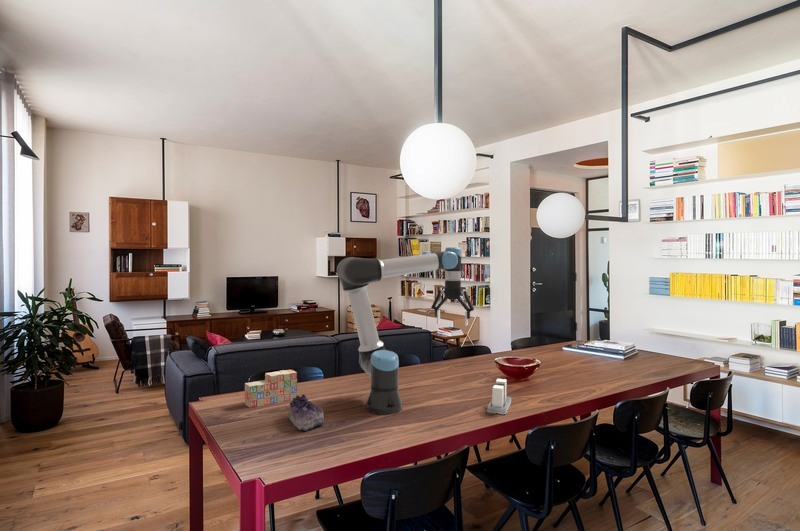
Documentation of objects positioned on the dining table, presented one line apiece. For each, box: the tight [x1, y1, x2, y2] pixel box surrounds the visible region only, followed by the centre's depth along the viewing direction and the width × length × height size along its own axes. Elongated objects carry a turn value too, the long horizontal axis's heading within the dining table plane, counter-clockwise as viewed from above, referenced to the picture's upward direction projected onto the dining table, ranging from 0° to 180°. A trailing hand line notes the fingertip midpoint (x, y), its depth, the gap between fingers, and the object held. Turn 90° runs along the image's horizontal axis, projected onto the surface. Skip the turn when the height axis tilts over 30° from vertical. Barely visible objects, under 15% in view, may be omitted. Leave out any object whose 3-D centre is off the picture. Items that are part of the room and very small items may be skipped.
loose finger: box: [495, 378, 507, 403], centre depth 205 cm, size 4×5×10 cm
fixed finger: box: [491, 384, 504, 408], centre depth 198 cm, size 4×5×10 cm
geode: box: [288, 393, 325, 432], centre depth 181 cm, size 20×12×10 cm, turn 34°
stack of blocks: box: [244, 369, 298, 409], centre depth 205 cm, size 21×6×12 cm, turn 128°
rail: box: [486, 396, 512, 415], centre depth 202 cm, size 18×8×2 cm, turn 159°
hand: (452, 324), depth 223 cm, fingers open, 13 cm apart
